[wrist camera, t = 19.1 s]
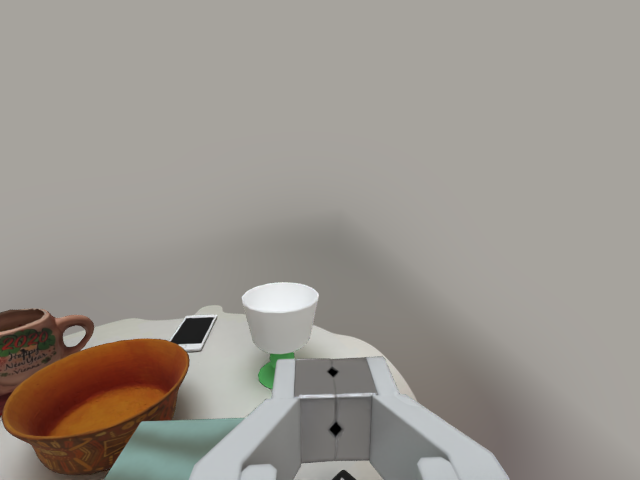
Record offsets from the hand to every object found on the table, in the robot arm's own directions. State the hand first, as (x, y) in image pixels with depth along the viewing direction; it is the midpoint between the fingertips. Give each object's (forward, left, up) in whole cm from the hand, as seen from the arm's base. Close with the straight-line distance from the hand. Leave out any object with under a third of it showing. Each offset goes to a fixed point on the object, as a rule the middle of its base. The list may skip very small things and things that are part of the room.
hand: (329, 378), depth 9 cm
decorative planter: (+42, +48, -32) cm, 71 cm away
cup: (+45, +5, -32) cm, 56 cm away
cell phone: (+61, +27, -32) cm, 74 cm away
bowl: (+32, +28, -32) cm, 53 cm away
